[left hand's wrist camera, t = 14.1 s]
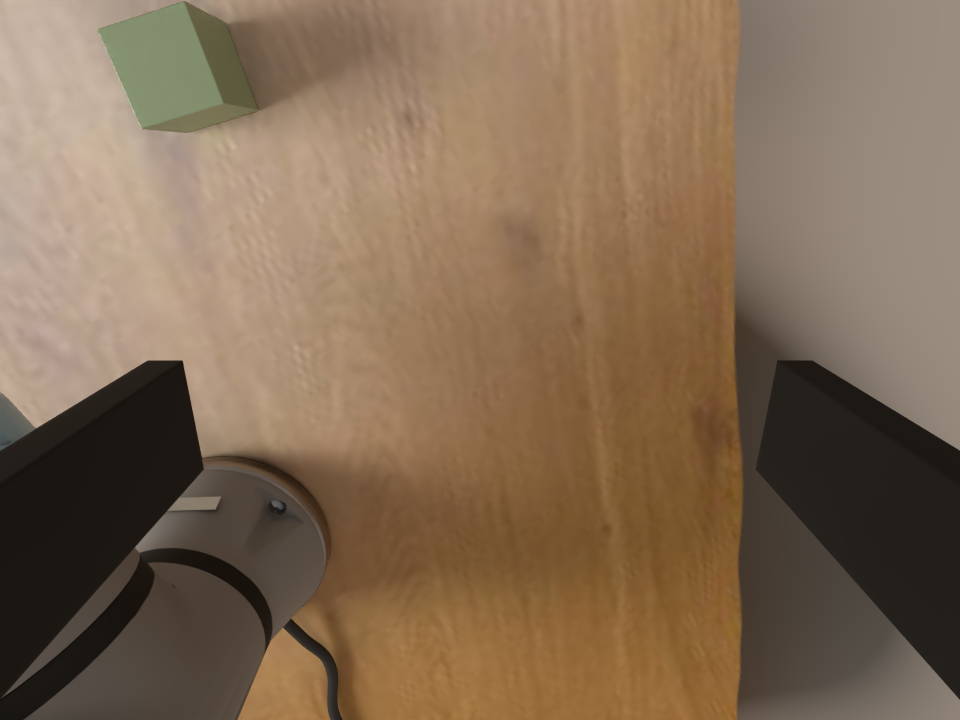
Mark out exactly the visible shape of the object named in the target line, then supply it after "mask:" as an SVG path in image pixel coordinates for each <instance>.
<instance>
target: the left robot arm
mask: <svg viewBox="0 0 960 720" xmlns="http://www.w3.org/2000/svg"><path fill="white" fill-rule="evenodd" d="M756 470H757V471H758V472H759V473H760V475H761V476H762V477H763V478H764V479H765V480H766V481H767V482H768V484H769V485H770V486H771V487H772V488H773V489H774V490H775V491H776V493H777V494H778V495H779V496H780V497H781V498H782V499H783V500H784V502H785V503H786V504H787V505H788V506H789V507H790V508H791V510H792V511H793V512H794V513H795V514H796V515H797V516H798V517H799V519H800V520H801V521H802V522H803V523H804V524H805V525H806V526H807V528H808V529H809V530H810V531H811V532H812V533H813V534H814V535H815V537H816V538H817V539H818V540H819V541H820V542H821V543H822V545H823V546H824V547H825V548H826V549H827V550H828V551H829V552H830V554H831V555H832V556H833V557H834V558H835V559H836V560H837V561H838V563H839V564H840V565H841V566H842V567H843V568H844V569H845V570H846V572H847V573H848V574H849V575H850V576H851V577H852V578H853V579H854V581H855V582H856V583H857V584H858V585H859V586H860V587H861V588H862V590H863V591H864V592H865V593H866V594H867V595H868V596H869V598H870V599H871V600H872V601H873V602H874V603H875V604H876V605H877V607H878V608H879V609H880V610H881V611H882V612H883V613H884V615H885V616H886V617H887V618H888V619H889V620H890V621H891V622H892V624H893V625H894V626H895V627H896V628H897V629H898V630H899V631H900V633H901V634H902V635H903V636H904V637H905V638H906V639H907V640H908V642H909V643H910V644H911V645H912V646H913V647H914V648H915V650H916V651H917V652H918V653H919V654H920V655H921V656H922V657H923V659H924V660H925V661H926V662H927V663H928V664H929V665H930V666H931V668H932V669H933V670H934V671H935V672H936V673H937V674H938V675H939V677H940V678H941V679H942V680H943V681H944V682H945V683H946V685H947V686H948V687H949V688H950V689H951V690H952V691H953V692H954V694H955V695H956V696H957V697H958V698H959V699H960V450H958V449H956V448H955V447H953V446H951V445H950V444H948V443H946V442H945V441H943V440H941V439H940V438H938V437H937V436H935V435H933V434H932V433H930V432H928V431H927V430H925V429H923V428H922V427H920V426H919V425H917V424H915V423H914V422H912V421H910V420H909V419H907V418H905V417H904V416H902V415H900V414H899V413H897V412H896V411H894V410H892V409H891V408H889V407H887V406H886V405H884V404H883V403H881V402H879V401H878V400H876V399H874V398H873V397H871V396H869V395H868V394H866V393H864V392H863V391H861V390H860V389H858V388H856V387H855V386H853V385H851V384H850V383H848V382H846V381H845V380H843V379H842V378H840V377H838V376H837V375H835V374H833V373H832V372H830V371H828V370H827V369H825V368H823V367H822V366H820V365H819V364H817V363H815V362H814V361H777V366H776V371H775V376H774V381H773V386H772V391H771V396H770V401H769V406H768V411H767V416H766V421H765V426H764V431H763V436H762V441H761V446H760V451H759V456H758V461H757V466H756ZM330 549H331V540H330V532H329V528H328V525H327V522H326V519H325V517H324V514H323V513H322V511H321V509H320V507H319V506H318V504H317V503H316V501H315V500H314V499H313V497H312V496H311V495H310V494H309V493H308V492H307V491H306V490H305V489H304V488H303V487H302V486H301V485H300V484H299V483H297V482H296V481H295V480H293V479H292V478H291V477H289V476H288V475H286V474H284V473H283V472H281V471H279V470H277V469H275V468H273V467H271V466H268V465H266V464H263V463H260V462H257V461H253V460H249V459H244V458H238V457H224V456H223V457H209V458H203V459H202V456H201V451H200V446H199V441H198V436H197V431H196V426H195V421H194V416H193V411H192V406H191V401H190V396H189V391H188V386H187V381H186V376H185V371H184V366H183V361H146V362H145V363H143V364H141V365H140V366H138V367H136V368H135V369H133V370H132V371H130V372H128V373H127V374H125V375H123V376H122V377H120V378H118V379H117V380H115V381H114V382H112V383H110V384H109V385H107V386H105V387H104V388H102V389H100V390H99V391H97V392H95V393H94V394H92V395H91V396H89V397H87V398H86V399H84V400H82V401H81V402H79V403H77V404H76V405H74V406H73V407H71V408H69V409H68V410H66V411H64V412H63V413H61V414H59V415H58V416H56V417H55V418H53V419H51V420H50V421H48V422H46V423H45V424H43V425H41V426H40V427H38V428H35V427H34V426H33V425H32V424H31V423H30V422H29V421H28V420H27V419H26V418H25V416H24V415H23V414H22V413H21V412H20V411H19V410H18V409H17V408H16V407H15V406H14V405H13V403H12V402H11V401H10V400H9V399H8V398H7V397H6V396H4V395H3V394H2V393H0V720H238V717H239V715H240V712H241V710H242V708H243V705H244V703H245V700H246V698H247V695H248V693H249V691H250V688H251V686H252V683H253V681H254V679H255V676H256V674H257V671H258V669H259V667H260V664H261V662H262V659H263V657H264V654H265V652H266V650H267V647H268V645H269V643H270V641H271V640H272V639H273V638H274V636H275V635H276V634H277V633H278V632H279V631H280V630H281V629H282V628H284V629H285V630H286V631H287V632H288V633H289V634H290V635H291V636H292V637H294V638H295V639H296V640H297V641H298V642H299V643H300V644H301V645H302V646H303V647H305V648H306V649H307V650H309V651H310V652H312V653H313V654H315V655H316V656H317V657H318V658H319V659H320V660H321V661H322V662H323V664H324V666H325V668H326V672H327V676H328V712H329V716H330V719H331V720H342V718H341V716H340V713H339V710H338V702H337V692H338V673H337V668H336V664H335V662H334V659H333V657H332V656H331V654H330V653H329V652H328V651H327V650H326V649H325V648H324V647H323V646H322V645H321V644H319V643H318V642H317V641H315V640H314V639H312V638H311V637H310V636H309V635H308V634H307V633H305V632H304V631H303V630H302V629H301V628H300V627H299V626H298V625H297V624H296V623H295V622H294V621H293V620H292V619H291V618H292V617H293V616H294V615H295V613H296V612H297V611H298V610H299V609H300V608H301V607H302V606H304V605H305V604H306V603H307V602H308V601H309V600H310V598H311V597H312V596H313V595H314V593H315V592H316V590H317V589H318V587H319V584H320V582H321V580H322V577H323V575H324V572H325V569H326V567H327V564H328V561H329V556H330Z"/></svg>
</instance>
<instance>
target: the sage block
mask: <svg viewBox="0 0 960 720" xmlns="http://www.w3.org/2000/svg"><path fill="white" fill-rule="evenodd" d="M98 32H99V34H100V37H101V39H102V41H103V43H104V46H105V48H106V50H107V53H108V55H109V57H110V59H111V62H112V64H113V66H114V68H115V71H116V73H117V75H118V77H119V80H120V82H121V84H122V87H123V89H124V91H125V93H126V96H127V98H128V100H129V102H130V105H131V107H132V109H133V111H134V114H135V116H136V118H137V120H138V123H139V125H140V127H141V129H148V130H159V131H171V132H183V133H188V132H191V131H194V130H198V129H201V128H204V127H208V126H211V125H214V124H218V123H221V122H224V121H227V120H231V119H234V118H237V117H241V116H244V115H247V114H251V113H254V112H257V111H258V107H257V105H256V102H255V99H254V97H253V94H252V91H251V88H250V86H249V83H248V80H247V78H246V75H245V72H244V70H243V67H242V64H241V61H240V59H239V56H238V53H237V51H236V48H235V45H234V43H233V40H232V37H231V34H230V32H229V29H228V26H227V24H226V23H225V22H223V21H221V20H219V19H217V18H216V17H214V16H212V15H210V14H208V13H206V12H204V11H202V10H200V9H199V8H197V7H195V6H193V5H191V4H189V3H187V2H185V1H183V2H180V3H177V4H174V5H171V6H168V7H164V8H161V9H158V10H155V11H152V12H149V13H146V14H143V15H140V16H137V17H134V18H131V19H128V20H125V21H122V22H119V23H115V24H112V25H109V26H106V27H103V28H100V29H98Z"/></svg>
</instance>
